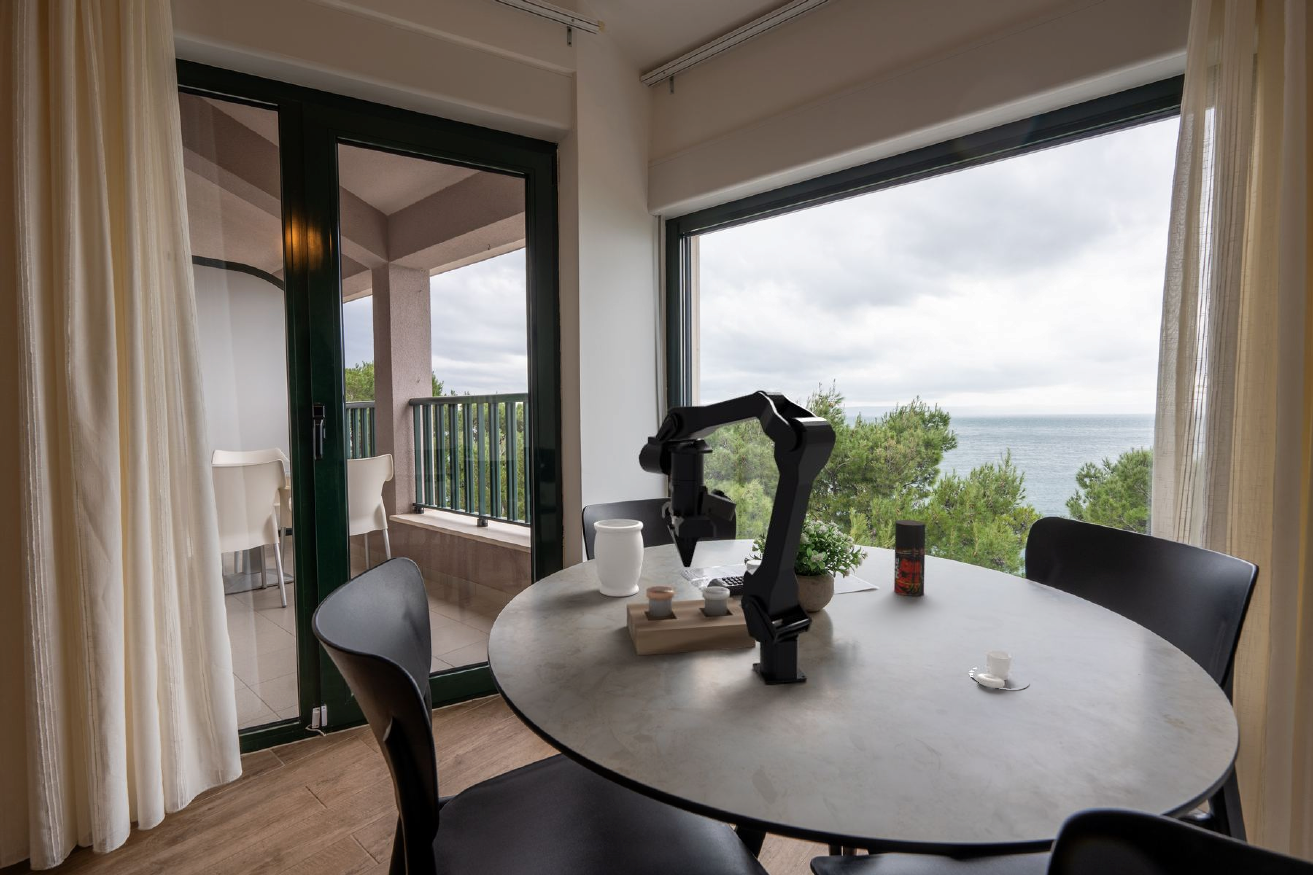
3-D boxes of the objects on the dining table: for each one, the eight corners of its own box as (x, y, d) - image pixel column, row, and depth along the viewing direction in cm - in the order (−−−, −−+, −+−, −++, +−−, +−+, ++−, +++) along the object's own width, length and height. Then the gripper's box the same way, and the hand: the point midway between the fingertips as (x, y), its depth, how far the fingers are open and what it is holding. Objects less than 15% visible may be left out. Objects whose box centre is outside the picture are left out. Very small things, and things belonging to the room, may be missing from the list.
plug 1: (676, 615, 111) (676, 593, 111) (648, 617, 110) (648, 594, 110) (671, 607, 116) (671, 585, 115) (644, 608, 115) (644, 586, 115)
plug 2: (732, 616, 113) (732, 593, 112) (706, 618, 112) (706, 595, 112) (725, 607, 117) (725, 585, 117) (699, 609, 117) (699, 587, 116)
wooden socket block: (755, 646, 109) (755, 623, 109) (637, 655, 105) (637, 631, 105) (731, 618, 123) (731, 597, 122) (626, 625, 119) (626, 604, 119)
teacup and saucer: (992, 697, 91) (993, 669, 91) (952, 674, 99) (953, 648, 98) (1042, 689, 93) (1043, 662, 93) (999, 667, 101) (1000, 641, 101)
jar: (587, 596, 137) (586, 526, 136) (605, 582, 146) (604, 517, 145) (634, 600, 133) (634, 528, 133) (649, 586, 143) (649, 519, 142)
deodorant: (888, 589, 140) (889, 521, 139) (908, 586, 143) (909, 519, 142) (909, 597, 135) (910, 526, 134) (930, 593, 137) (931, 523, 136)
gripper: (747, 485, 104) (746, 580, 105) (719, 471, 123) (719, 552, 124) (679, 486, 103) (678, 583, 104) (661, 472, 121) (661, 554, 122)
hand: (686, 566), depth 113 cm, fingers closed
